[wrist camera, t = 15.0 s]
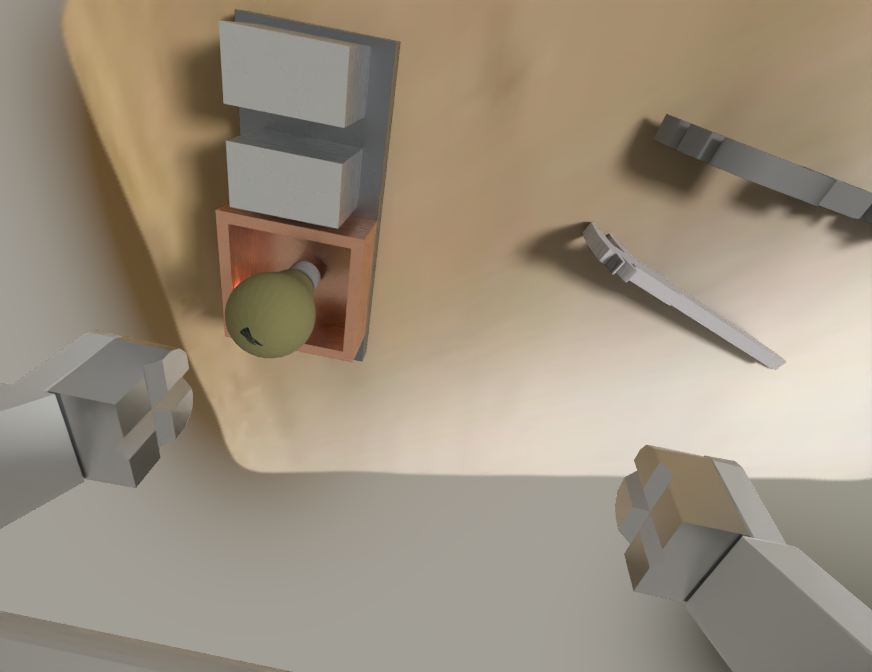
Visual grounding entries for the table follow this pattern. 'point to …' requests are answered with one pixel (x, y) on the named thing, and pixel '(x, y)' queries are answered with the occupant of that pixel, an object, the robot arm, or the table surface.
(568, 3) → the table surface
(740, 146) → the block letters
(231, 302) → the light bulb
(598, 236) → the caliper
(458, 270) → the table surface
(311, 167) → the desk organizer
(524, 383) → the table surface
